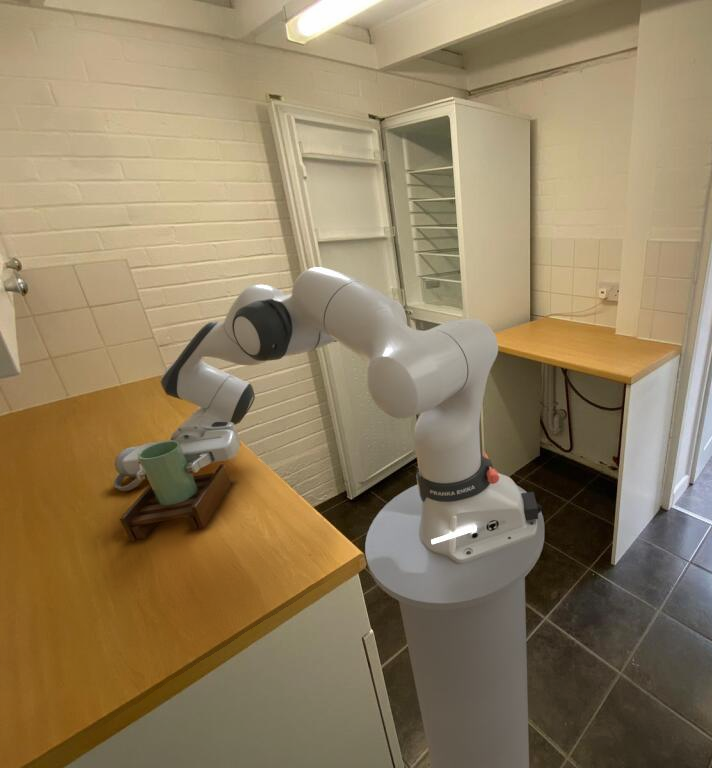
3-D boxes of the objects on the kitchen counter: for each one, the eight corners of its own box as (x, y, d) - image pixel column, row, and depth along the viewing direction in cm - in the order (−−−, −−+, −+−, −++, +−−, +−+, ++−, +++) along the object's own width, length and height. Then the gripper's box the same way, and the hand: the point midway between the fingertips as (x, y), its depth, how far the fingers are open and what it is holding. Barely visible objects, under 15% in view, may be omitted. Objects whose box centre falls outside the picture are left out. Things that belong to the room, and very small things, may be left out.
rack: (231, 483, 96) (224, 463, 94) (204, 528, 83) (195, 506, 81) (169, 493, 94) (160, 473, 91) (130, 541, 80) (119, 519, 78)
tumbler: (203, 482, 90) (185, 438, 86) (189, 501, 84) (170, 455, 80) (168, 487, 89) (148, 443, 85) (152, 507, 83) (130, 461, 79)
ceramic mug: (147, 464, 104) (134, 438, 101) (177, 465, 104) (165, 439, 100) (106, 492, 95) (90, 464, 92) (138, 493, 94) (124, 465, 91)
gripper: (138, 434, 92) (98, 469, 80) (240, 421, 97) (217, 452, 84) (149, 458, 95) (112, 495, 83) (248, 444, 99) (227, 478, 87)
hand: (166, 473), depth 83 cm, fingers open, 7 cm apart
